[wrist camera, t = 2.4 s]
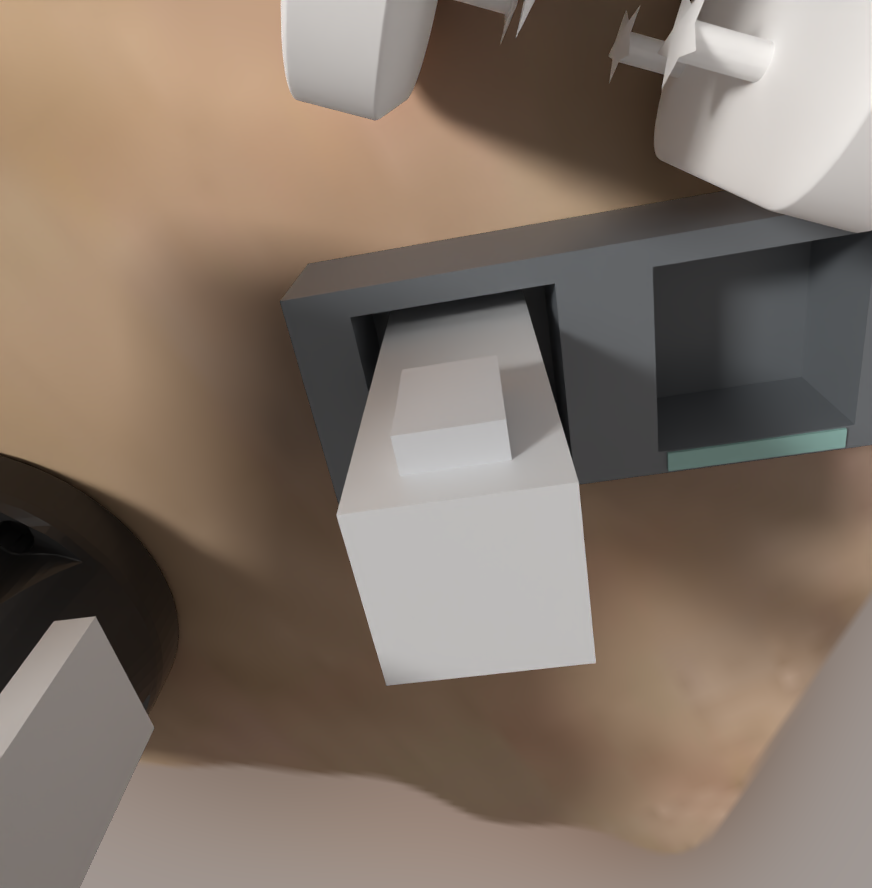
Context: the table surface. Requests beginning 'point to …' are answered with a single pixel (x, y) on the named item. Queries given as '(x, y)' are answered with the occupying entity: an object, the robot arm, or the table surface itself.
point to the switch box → (629, 331)
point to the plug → (466, 500)
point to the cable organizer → (684, 89)
